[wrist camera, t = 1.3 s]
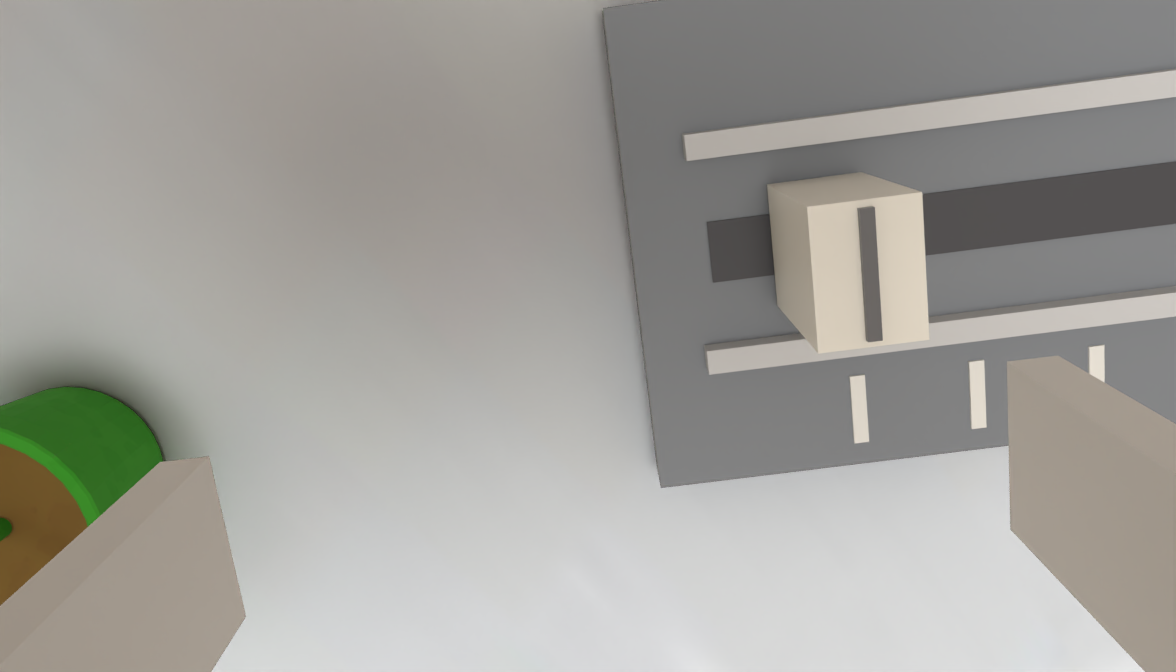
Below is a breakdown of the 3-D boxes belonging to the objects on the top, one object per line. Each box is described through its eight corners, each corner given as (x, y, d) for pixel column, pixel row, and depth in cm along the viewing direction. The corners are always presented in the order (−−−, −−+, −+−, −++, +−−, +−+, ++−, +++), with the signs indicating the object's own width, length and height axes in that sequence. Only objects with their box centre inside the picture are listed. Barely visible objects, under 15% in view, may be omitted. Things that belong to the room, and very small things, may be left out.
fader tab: (767, 184, 32) (808, 207, 26) (861, 172, 32) (924, 193, 26) (777, 306, 33) (820, 355, 27) (868, 294, 33) (932, 341, 27)
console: (602, 12, 33) (603, 5, 30) (1535, -115, 32) (1636, -136, 29) (657, 466, 37) (663, 502, 34) (1491, 364, 36) (1576, 391, 33)
